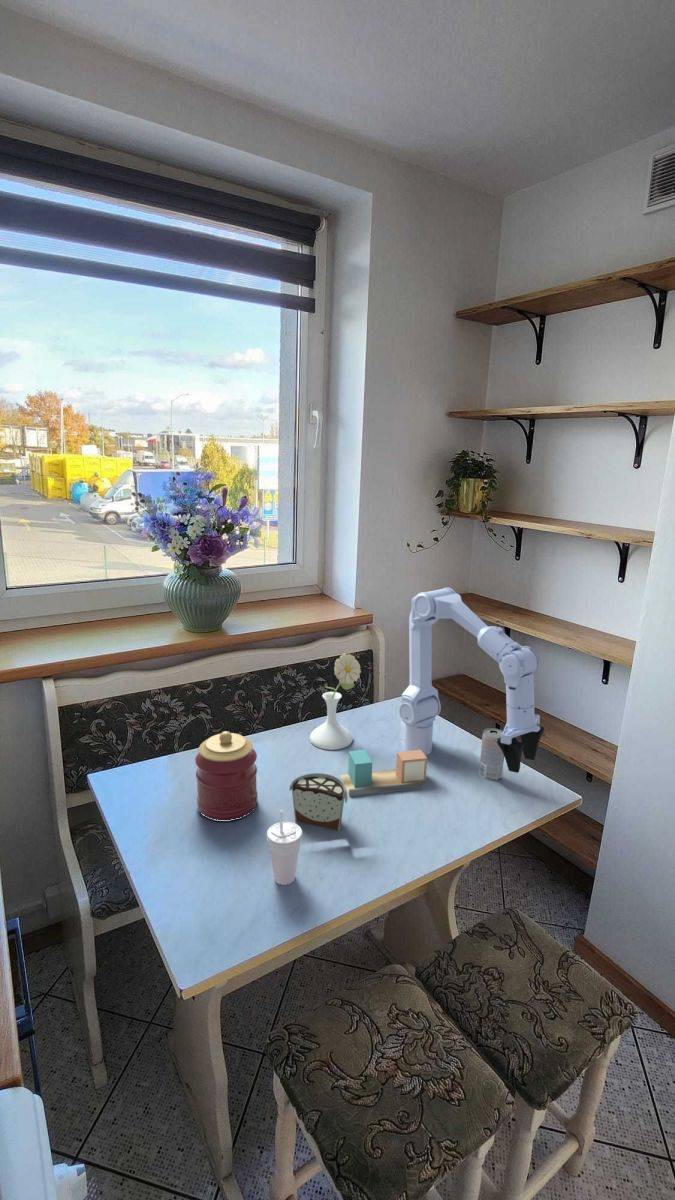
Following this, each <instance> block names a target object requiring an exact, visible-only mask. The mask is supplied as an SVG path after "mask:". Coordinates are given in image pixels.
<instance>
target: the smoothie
mask: <svg viewBox="0 0 675 1200" xmlns="http://www.w3.org/2000/svg"><path fill="white" fill-rule="evenodd" d="M266 840H267V842H268V845H269V851H270V857H271V864H272V871H273V876H274V881H275V882H276V884H278V885H280V884H281V885H280V886H288V885H290V883H291V882H292V883H294V881H295V880H296V873H297V872H296V871H297V866H298V859H299V858H298V857H299V851H300V844H301V842H302V840H303V829H302V828H301V826H299V825H298V824H297V823H294V822H291V821H284V810H283V809H280V810H279V822H277V823H274V824H273V825H271V826H269V828H268V829H267V831H266ZM292 883H291V884H292ZM287 884H288V885H287Z"/></svg>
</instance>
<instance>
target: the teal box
mask: <svg viewBox="0 0 675 1200" xmlns="http://www.w3.org/2000/svg"><path fill="white" fill-rule="evenodd" d="M347 771H348V773H347V774H348V775H349V777H350V779H351V781H352V783H353V785H354V788H358V787H367V786H372V772H373V761H372V760H371V756H369V754H368V752H367V750H366V749H359V750H349V751H348V770H347Z"/></svg>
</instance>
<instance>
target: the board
mask: <svg viewBox="0 0 675 1200" xmlns="http://www.w3.org/2000/svg"><path fill="white" fill-rule="evenodd" d="M340 777H341V781H342V782H343V784H344V786H345V788H346V791H347V796H348V797H354V796H356V797H357V796H364V795H365V796H366V795H372V794H373V795H374V794H382V793H391V792H392V793H393V792H399V791H407V790H408V791H409V790H416V789H417V790H418V789H422V787H423V786H422V785H423V784H422V783H423V782H421V781H420V782H411V783H402V784H401V783H400V781H399V779H398V778H397V776H396V768H394V769H386V770H385V769H384V770H375V771H373V770H372V786H367V787H358V788H354V785H353V783H352V781H351V779H350V777H349V775H348V773H345V774H340Z"/></svg>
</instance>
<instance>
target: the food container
mask: <svg viewBox="0 0 675 1200" xmlns="http://www.w3.org/2000/svg"><path fill="white" fill-rule="evenodd" d="M289 791H291V793H292V804H293V811H294V812H293V814H294V821H295V822H299V823H303V824H308V825H312V826H316V827H321V828H325V829H329V830H333V831H334V830H335V831H337V832H339V831H340V829H341V826H342V825H341V824H342V817H343V810H344V804H347V802H348V799H349V798H348V797H349V796H348V792H347V790H346V788H345V785H344V783H343V781H342V779H339V778H338V777H336V776H335V775H332V774H327V773H321V772H313V773H312V772H311V773H306V774H303V775H300V776H297V777H296V778H295V779H293V780H292V781H291V784H290V785H289Z"/></svg>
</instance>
